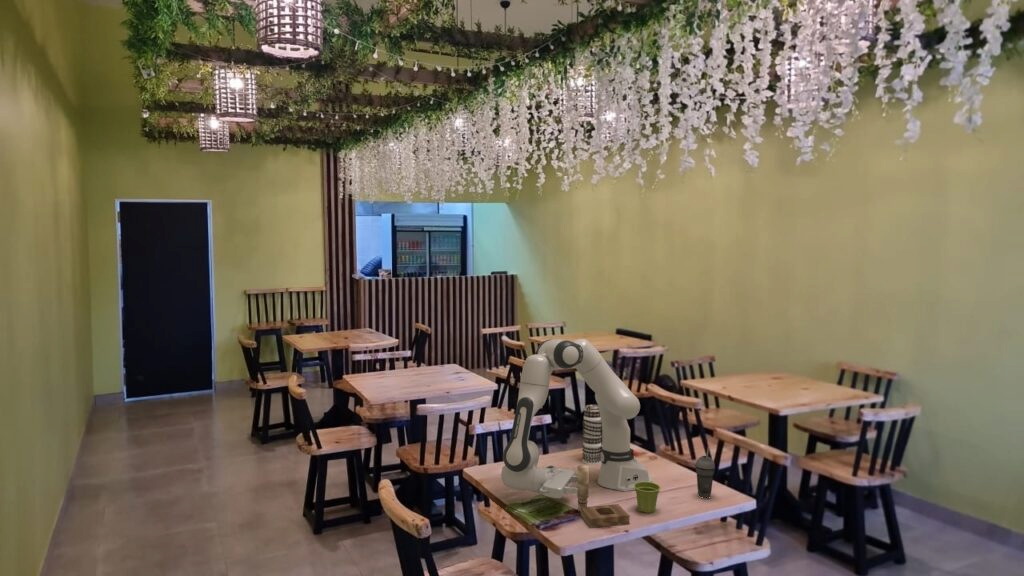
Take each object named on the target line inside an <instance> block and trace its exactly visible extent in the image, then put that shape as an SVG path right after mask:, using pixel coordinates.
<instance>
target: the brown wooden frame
mask: <svg viewBox="0 0 1024 576" xmlns="http://www.w3.org/2000/svg"><path fill="white" fill-rule="evenodd" d="M580 516H581V518H582V519H583V520H584V522H585V523H586V524H587V525H588V526H589V528H591V529H593V528H600V527H602V528H603V527H612V526H624V525H630V520H631V519H630V514H629V513H628V512H627V511H626V509H624V508H623V507H622V506H621V505H620V504H615V503H614V504H603V505H593V506H592V505H591V506H587V507H581V512H580Z"/></svg>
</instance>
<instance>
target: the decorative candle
mask: <svg viewBox="0 0 1024 576" xmlns="http://www.w3.org/2000/svg"><path fill="white" fill-rule="evenodd" d="M583 410H584V412H583V414H584V415H583V420H582V421H581V423H582V428H583V429H582V436H583V445H582V463H584V462H585V463H584V464H586V463H590V464H589V465H591V464H596V465H600V464H601V447H602V423H601V418H600V412H599V407H598V404H587V405H585V407H584V408H583ZM599 463H600V464H599Z"/></svg>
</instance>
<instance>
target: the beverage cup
mask: <svg viewBox="0 0 1024 576" xmlns="http://www.w3.org/2000/svg"><path fill="white" fill-rule="evenodd" d="M709 450H710V445H707V449H706V455H701V456H699V457H698V458H697V459H696V462H695V466H694V467H695V472H696V482H697V483H696V485H697V496H698V495H699V496H700V497H703V498H709V497H710V496H711V497H712V491H713V490H712V487H713V479H714V473H715V469H716V467H715V461H714V460H713V459H712V458H711V457H710V456H709ZM699 496H698V497H699ZM700 497H699V498H700ZM711 497H710V498H711ZM703 498H702V499H703ZM710 498H709V499H710Z"/></svg>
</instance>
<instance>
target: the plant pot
mask: <svg viewBox="0 0 1024 576" xmlns="http://www.w3.org/2000/svg"><path fill="white" fill-rule="evenodd" d="M634 488H635V490H634V491H635V494H636V502H637V509H638V511H640V512H644V513H646V514H650V513H654V512H655V511H656V508H657V502H658V501H657V500H658V496H659V493H660V490H661V486H660V485H659V484H657V483H656V482H654V483H652V482H638V483H635V484H634Z"/></svg>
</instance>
